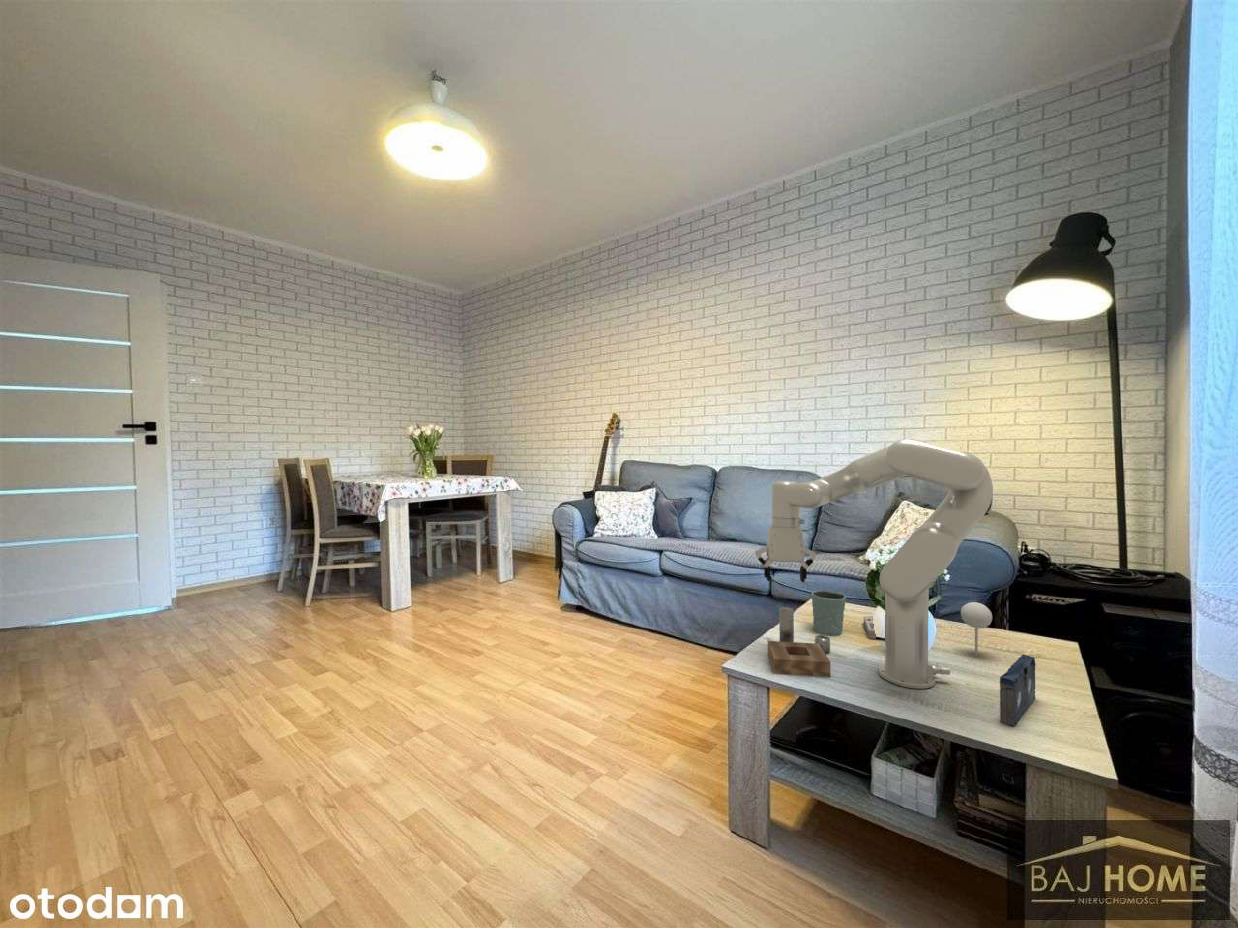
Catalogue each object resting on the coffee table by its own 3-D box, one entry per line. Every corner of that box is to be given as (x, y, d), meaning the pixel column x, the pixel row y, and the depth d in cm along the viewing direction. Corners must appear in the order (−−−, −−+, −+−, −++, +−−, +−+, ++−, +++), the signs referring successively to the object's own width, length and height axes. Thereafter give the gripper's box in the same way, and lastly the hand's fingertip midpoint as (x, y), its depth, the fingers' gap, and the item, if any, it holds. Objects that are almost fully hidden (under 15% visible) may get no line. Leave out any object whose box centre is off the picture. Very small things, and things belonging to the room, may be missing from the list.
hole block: (819, 657, 135) (818, 643, 134) (830, 677, 123) (830, 662, 123) (767, 654, 137) (767, 641, 137) (774, 673, 125) (774, 658, 125)
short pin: (827, 649, 140) (827, 635, 140) (831, 654, 136) (831, 641, 136) (813, 648, 141) (813, 635, 141) (816, 654, 137) (816, 640, 137)
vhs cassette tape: (1022, 695, 113) (1022, 653, 113) (1038, 700, 110) (1038, 657, 110) (996, 722, 102) (996, 676, 102) (1014, 728, 99) (1014, 681, 99)
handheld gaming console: (893, 616, 158) (902, 632, 144) (893, 627, 158) (902, 644, 144) (862, 613, 161) (868, 629, 147) (862, 623, 161) (868, 640, 147)
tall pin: (792, 647, 142) (792, 607, 142) (795, 652, 138) (794, 611, 138) (778, 646, 143) (778, 606, 142) (780, 652, 139) (780, 611, 138)
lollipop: (998, 658, 133) (998, 604, 132) (981, 662, 130) (981, 608, 130) (971, 648, 139) (971, 597, 139) (954, 652, 137) (955, 600, 136)
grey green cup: (805, 626, 158) (805, 590, 158) (832, 624, 160) (832, 588, 160) (824, 638, 148) (823, 600, 148) (852, 635, 150) (852, 597, 150)
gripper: (813, 521, 142) (812, 578, 142) (753, 520, 145) (753, 576, 145) (819, 525, 134) (819, 585, 135) (756, 524, 137) (756, 582, 138)
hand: (785, 580), depth 140 cm, fingers open, 9 cm apart
